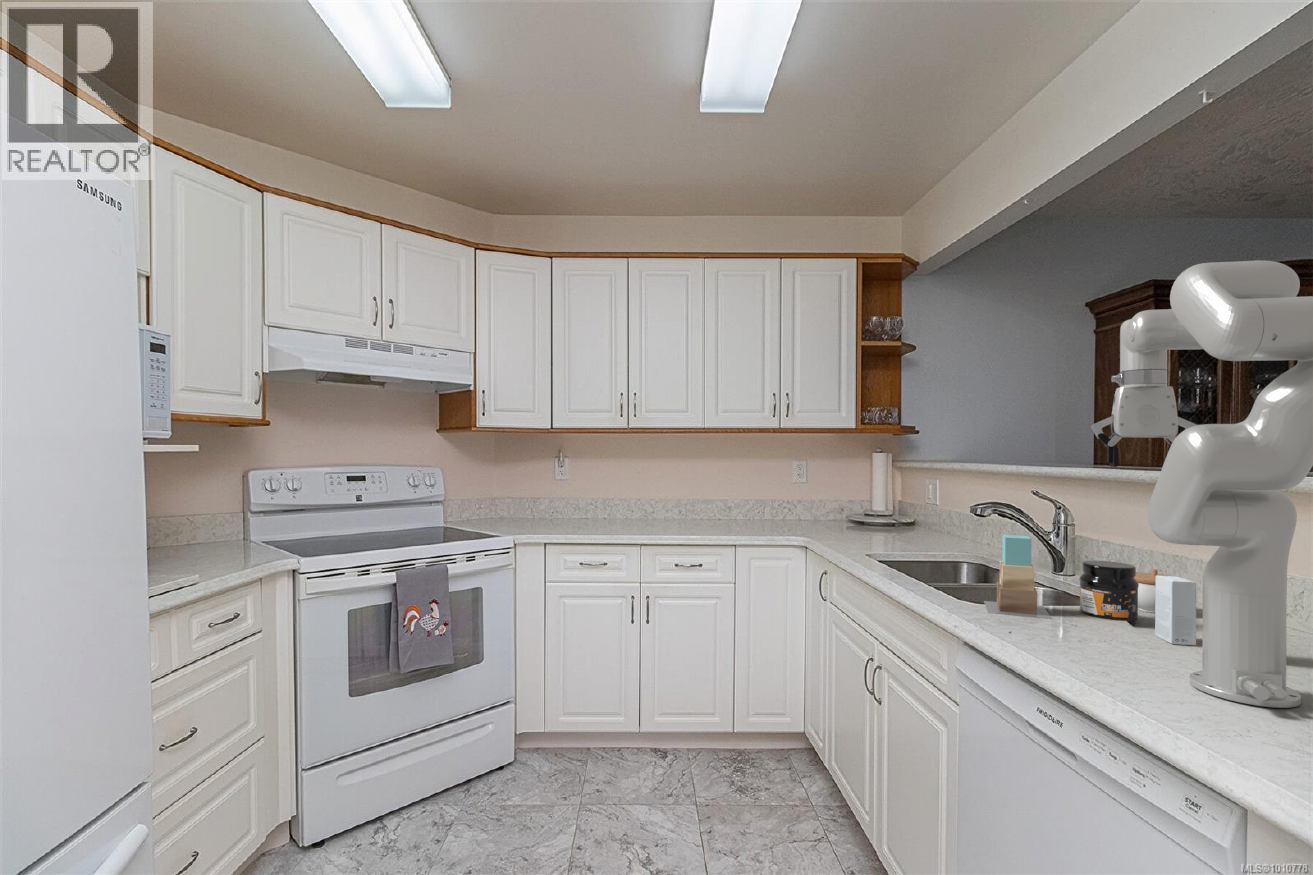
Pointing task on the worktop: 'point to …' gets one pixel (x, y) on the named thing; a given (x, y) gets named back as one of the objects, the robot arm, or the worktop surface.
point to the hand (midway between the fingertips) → (1142, 467)
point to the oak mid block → (1017, 577)
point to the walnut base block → (1016, 600)
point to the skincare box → (1175, 610)
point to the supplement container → (1109, 591)
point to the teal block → (1016, 550)
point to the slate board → (994, 609)
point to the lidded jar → (1147, 590)
